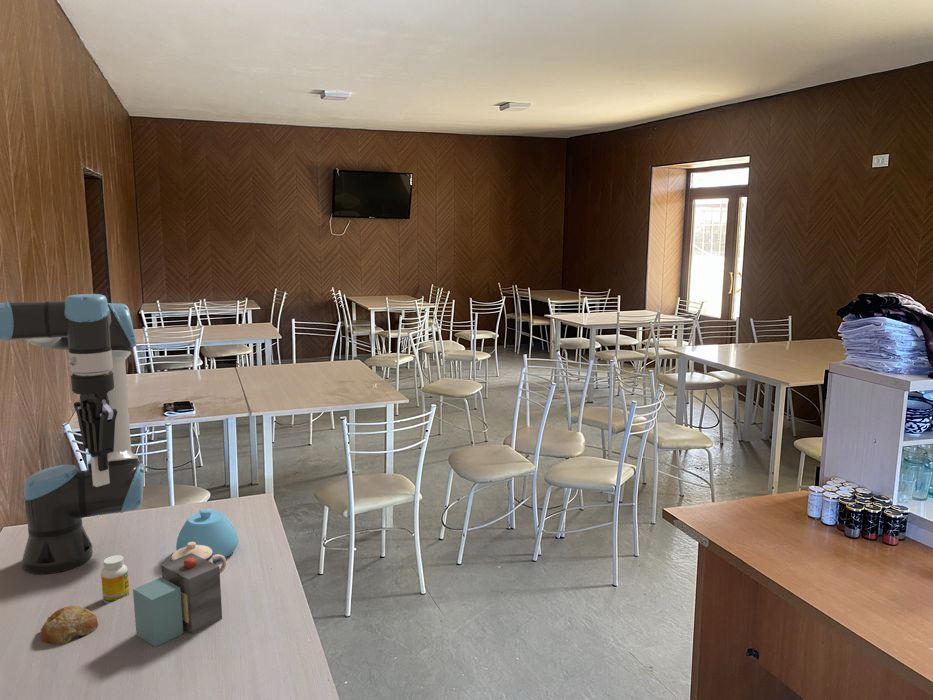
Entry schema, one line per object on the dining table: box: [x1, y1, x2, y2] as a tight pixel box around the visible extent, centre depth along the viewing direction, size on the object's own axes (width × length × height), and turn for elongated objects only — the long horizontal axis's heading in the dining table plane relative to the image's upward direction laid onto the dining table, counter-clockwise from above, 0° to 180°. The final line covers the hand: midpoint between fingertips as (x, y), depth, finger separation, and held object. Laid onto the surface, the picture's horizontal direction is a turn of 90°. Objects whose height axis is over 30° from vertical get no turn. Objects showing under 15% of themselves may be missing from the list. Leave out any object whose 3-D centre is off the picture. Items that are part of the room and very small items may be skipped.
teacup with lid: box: [170, 542, 227, 575], centre depth 162 cm, size 12×9×12 cm
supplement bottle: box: [100, 554, 130, 605], centre depth 158 cm, size 5×5×10 cm
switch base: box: [160, 553, 223, 634], centre depth 141 cm, size 12×22×14 cm, turn 144°
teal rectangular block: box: [132, 577, 184, 648], centre depth 141 cm, size 7×6×10 cm
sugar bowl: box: [175, 508, 239, 563], centre depth 180 cm, size 15×15×12 cm
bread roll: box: [39, 605, 99, 645], centre depth 143 cm, size 10×10×8 cm
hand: (101, 484), depth 145 cm, fingers closed
